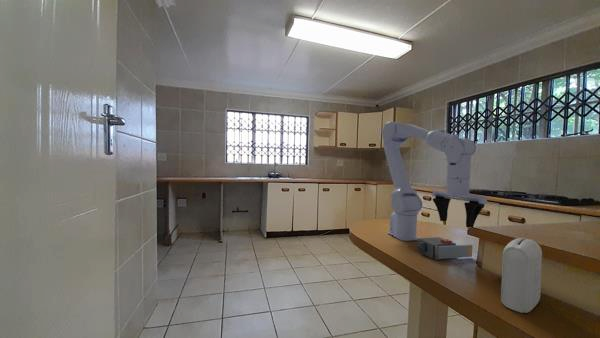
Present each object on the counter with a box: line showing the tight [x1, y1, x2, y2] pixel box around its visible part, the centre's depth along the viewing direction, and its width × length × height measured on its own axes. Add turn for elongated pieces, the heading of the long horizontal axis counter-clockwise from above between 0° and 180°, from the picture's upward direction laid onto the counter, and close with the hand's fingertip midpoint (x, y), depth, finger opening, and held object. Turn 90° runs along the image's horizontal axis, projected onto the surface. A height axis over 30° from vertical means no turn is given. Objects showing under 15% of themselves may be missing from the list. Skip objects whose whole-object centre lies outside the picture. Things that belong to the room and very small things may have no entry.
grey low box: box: [416, 236, 457, 260], centre depth 68 cm, size 6×9×5 cm, turn 103°
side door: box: [434, 244, 473, 261], centre depth 65 cm, size 1×12×4 cm, turn 103°
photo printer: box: [500, 237, 543, 314], centre depth 44 cm, size 10×4×12 cm, turn 123°
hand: (455, 224), depth 68 cm, fingers open, 7 cm apart
